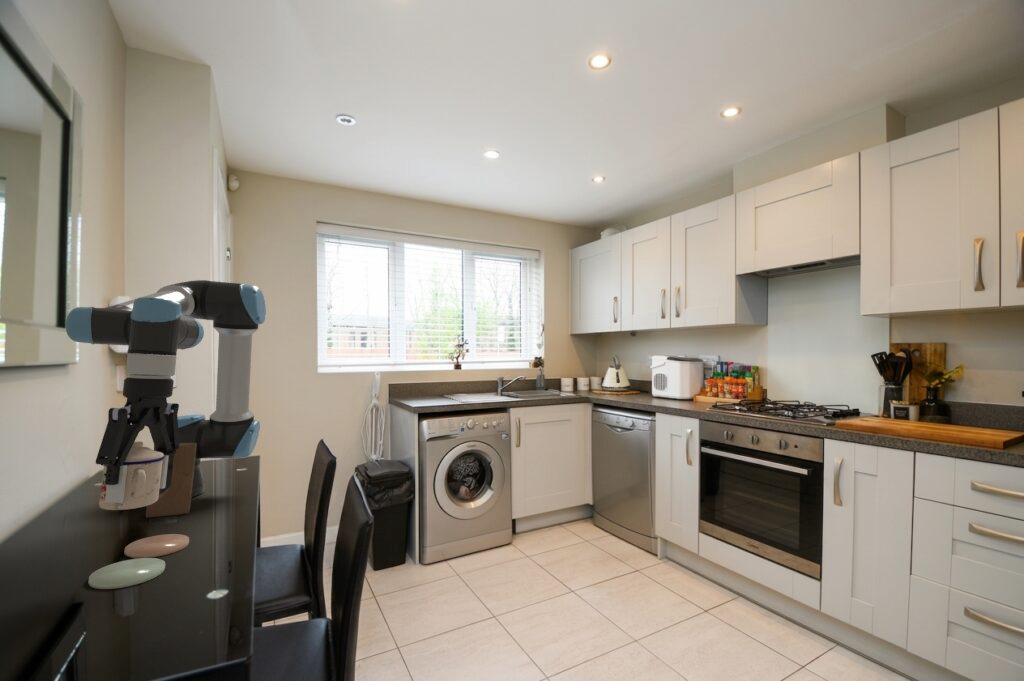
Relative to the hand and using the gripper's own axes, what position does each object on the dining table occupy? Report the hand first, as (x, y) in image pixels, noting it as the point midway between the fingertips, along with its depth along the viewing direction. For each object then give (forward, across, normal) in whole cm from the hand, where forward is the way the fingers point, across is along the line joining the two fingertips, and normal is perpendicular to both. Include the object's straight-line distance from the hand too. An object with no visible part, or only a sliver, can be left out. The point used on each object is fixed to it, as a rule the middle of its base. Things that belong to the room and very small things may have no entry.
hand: (136, 494), depth 85 cm
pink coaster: (+15, -12, -4) cm, 20 cm away
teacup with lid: (+2, +1, 0) cm, 2 cm away
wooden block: (+15, -33, -18) cm, 40 cm away
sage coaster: (+15, 0, 0) cm, 15 cm away
